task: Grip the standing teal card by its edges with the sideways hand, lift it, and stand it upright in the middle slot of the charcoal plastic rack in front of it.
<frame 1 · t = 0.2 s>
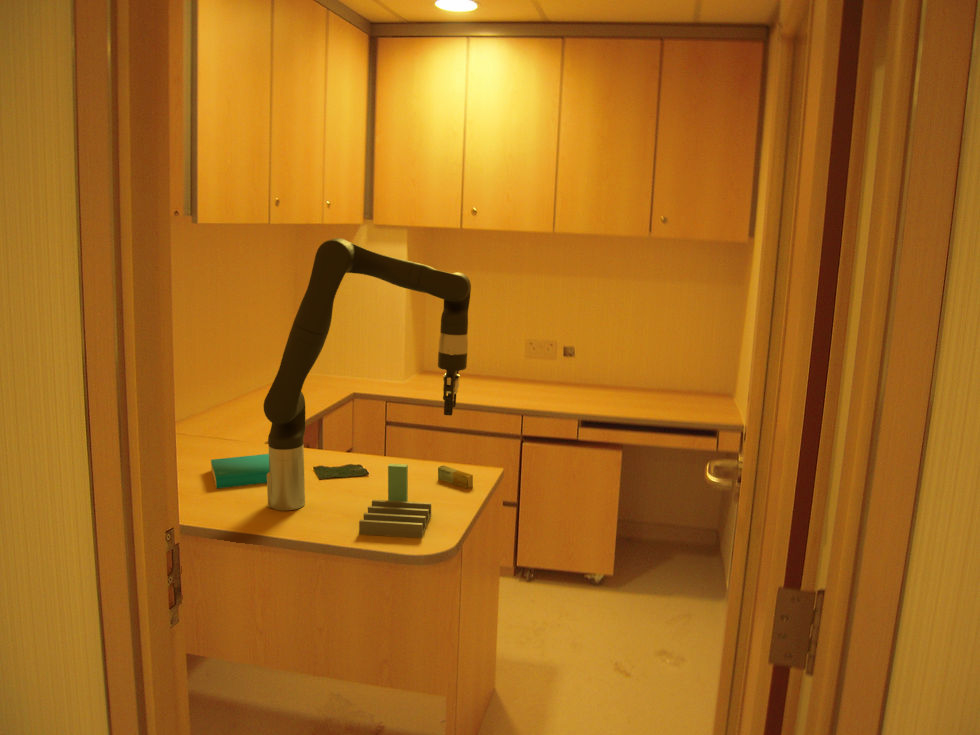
hand: (449, 410, 218), 29 cm above the worktop, tool pointing down, fingers open, 8 cm apart
medication box: (455, 484, 247), on the worktop
card: (398, 506, 228), on the worktop
rack: (396, 524, 216), on the worktop
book: (257, 476, 250), on the worktop
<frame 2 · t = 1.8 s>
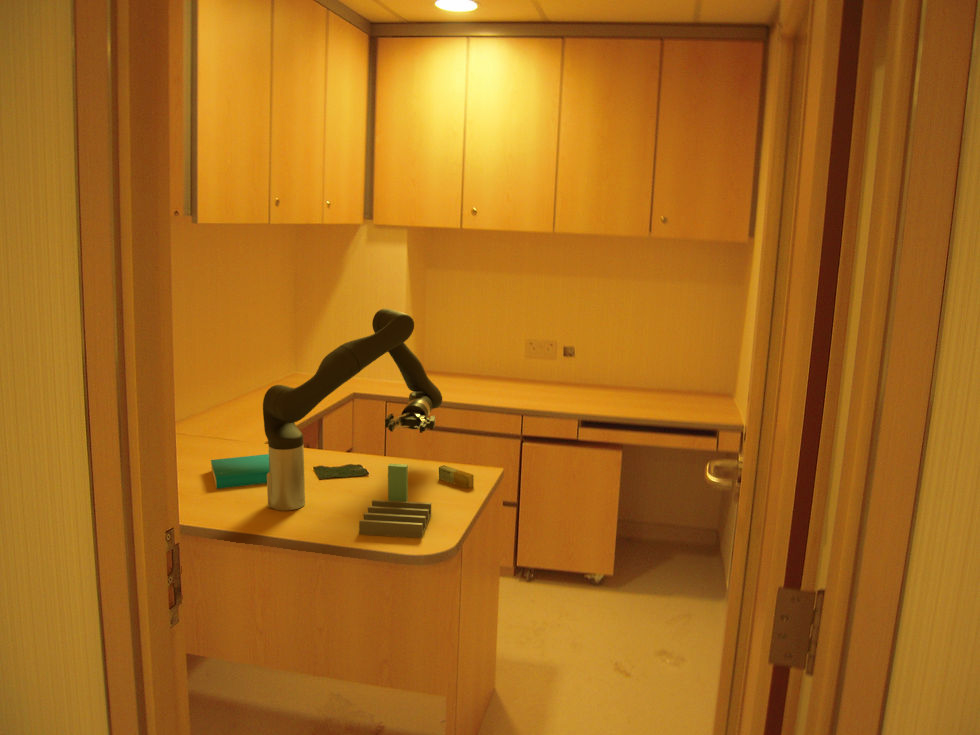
hand: (405, 428, 234), 19 cm above the worktop, tool horizontal, fingers open, 8 cm apart
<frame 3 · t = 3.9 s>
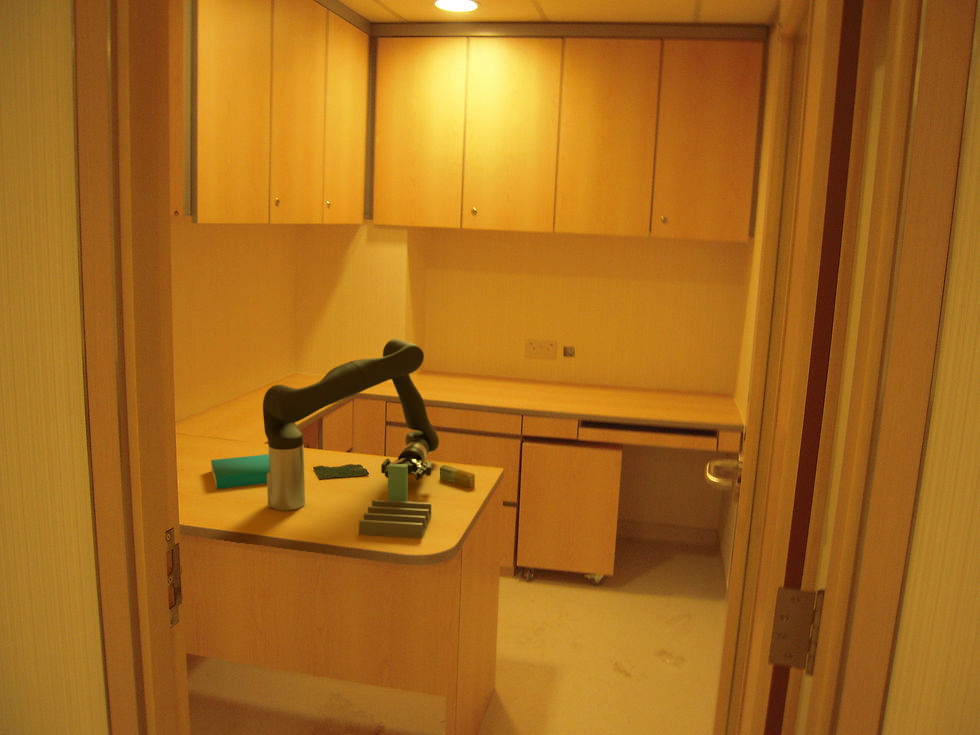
hand: (402, 475, 233), 7 cm above the worktop, tool horizontal, fingers open, 8 cm apart
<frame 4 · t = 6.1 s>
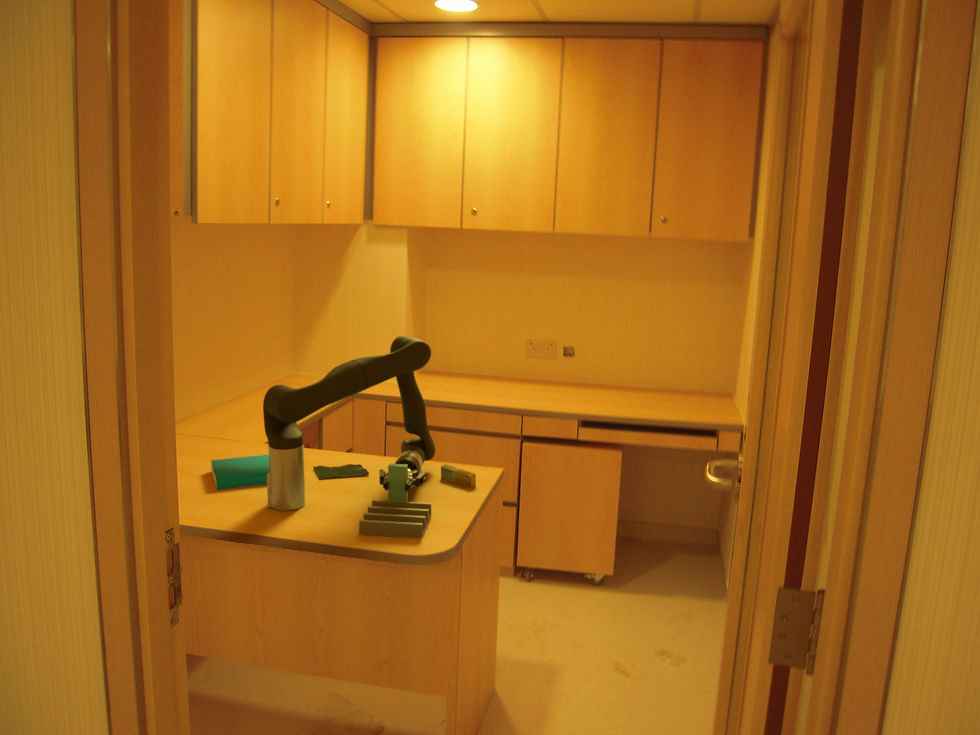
hand: (396, 487, 224), 7 cm above the worktop, tool horizontal, fingers closed on card, 5 cm apart
card: (398, 506, 228), on the worktop, touching gripper
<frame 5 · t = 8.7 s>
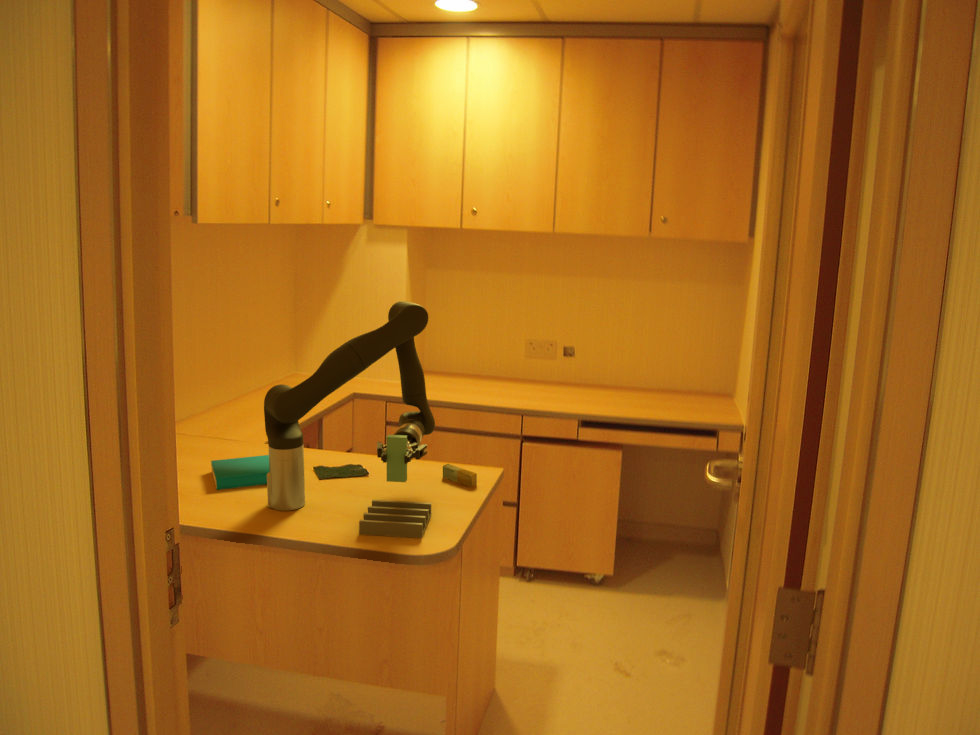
hand: (395, 459, 211), 18 cm above the worktop, tool horizontal, fingers closed on card, 5 cm apart
card: (396, 480, 215), point 11 cm above the worktop, touching gripper
when the fingers open (9 cm above the worktop, at t = 11.5 s): card drops 1 cm, resting on rack.
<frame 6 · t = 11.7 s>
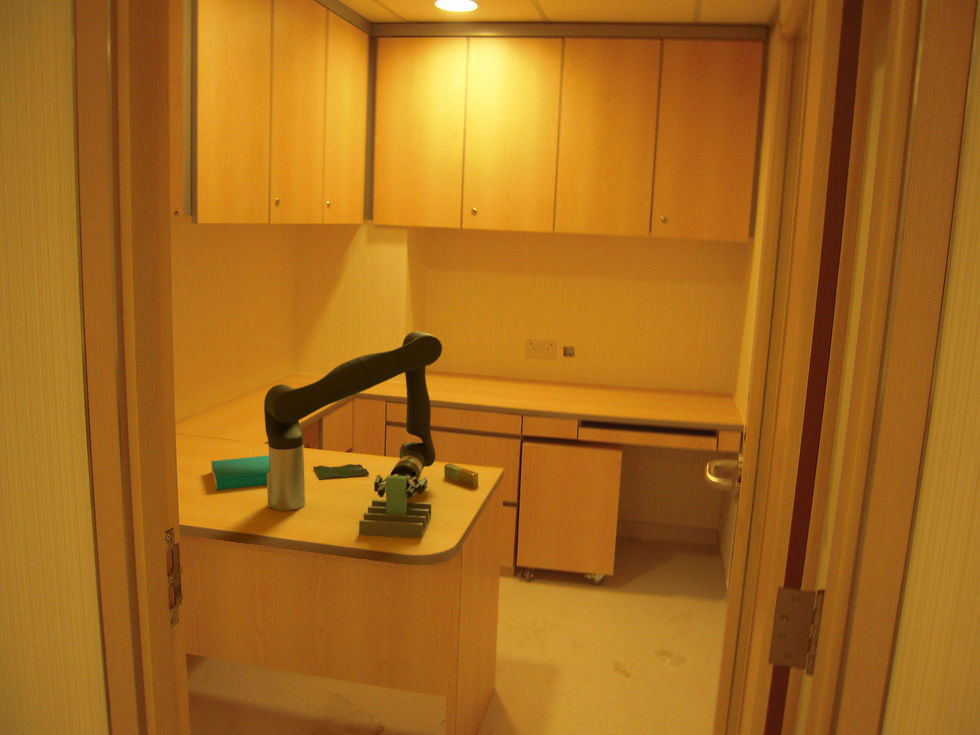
hand: (394, 494, 212), 9 cm above the worktop, tool horizontal, fingers open, 6 cm apart
card: (396, 520, 216), point 1 cm above the worktop, touching rack
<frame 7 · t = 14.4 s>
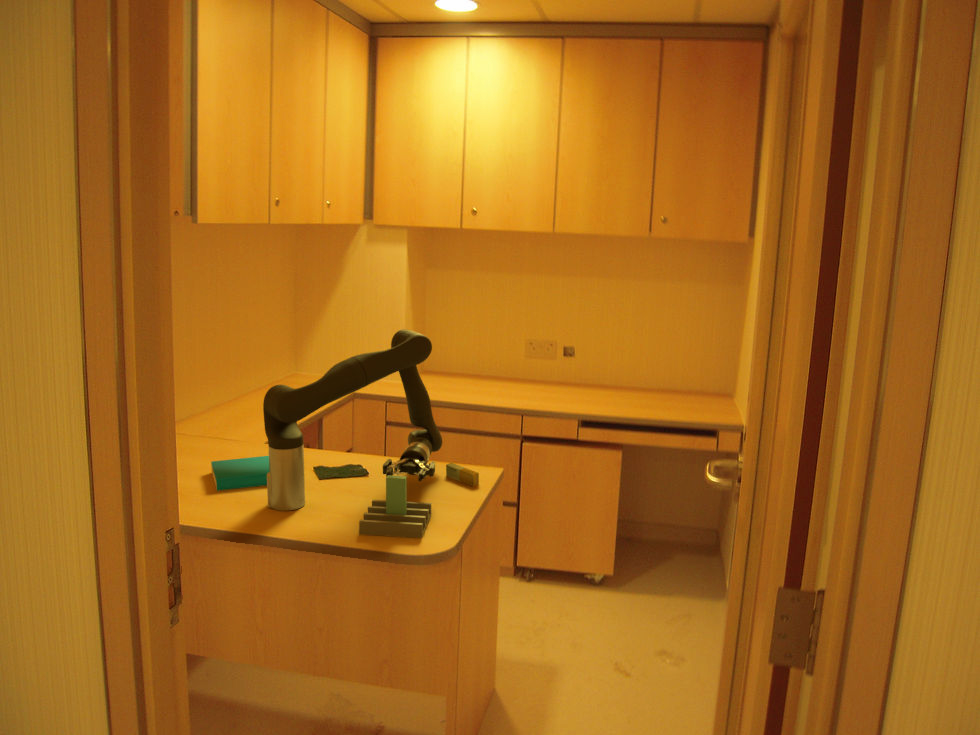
hand: (404, 476, 225), 9 cm above the worktop, tool horizontal, fingers open, 8 cm apart
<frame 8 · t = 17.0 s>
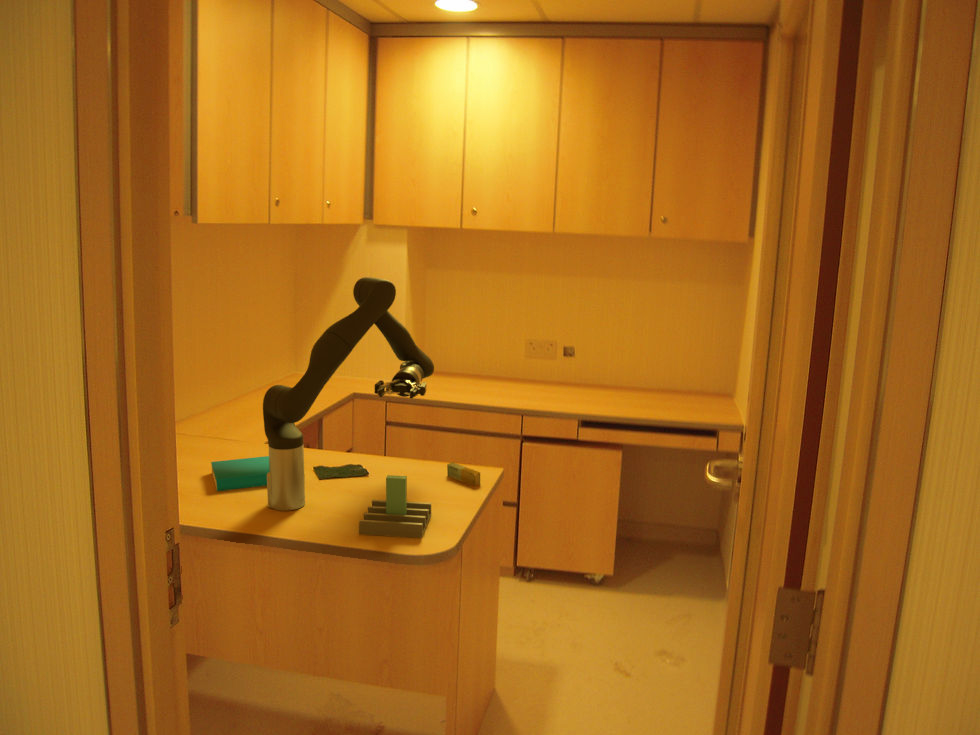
hand: (395, 394, 228), 30 cm above the worktop, tool horizontal, fingers open, 8 cm apart
at the end: card inside the target area on the rack (0.1 cm from its centre), point 1.0 cm above the rack's base; card tilted 0°; the gripper is holding nothing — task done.
